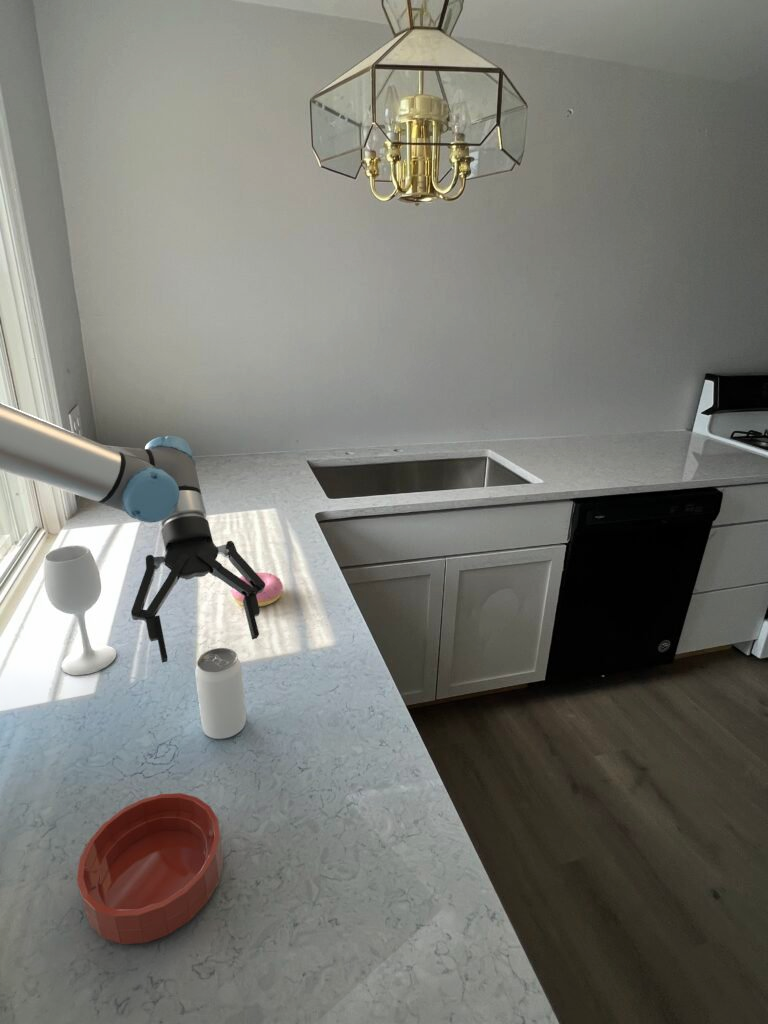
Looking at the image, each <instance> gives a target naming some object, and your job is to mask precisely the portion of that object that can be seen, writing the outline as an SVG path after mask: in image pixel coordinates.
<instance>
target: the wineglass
mask: <svg viewBox="0 0 768 1024" xmlns="http://www.w3.org/2000/svg"><path fill="white" fill-rule="evenodd" d="M43 583H44V589H45V592H46V596H47V598H48V601H49V602H50V604H51V605H52V607H54V608H55V609H56V610H58V611H60V612H61V613H64V614H68V615H73V616H74V617H75V618H76V620H77V623H78V627H79V631H80V632H79V633H80V637H81V644H82V647H81V648H79V649H76V650H75V651H73V652H71V653H70V654H68V655H67V656H66V657H65V658H64V660H63V661H62V662H61V670H62V671H63V672H64V673H66V674H68V675H72V676H83V675H89V674H93V673H96V672H99V671H101V670H103V669H105V668H106V667H108V666H109V665H111V664H112V663H113V662H114V660H115V659H116V656H117V651H116V649H115V648H114V647H112V646H110V645H106V644H92V645H91V642H90V639H89V636H88V631H87V626H86V618H85V617H86V612H87V611H88V610H90V609H91V608H92V607H94V605H96V603H97V602H98V600H99V598H100V596H101V593H102V581H101V575H100V571H99V568H98V565H97V563H96V560H95V558H94V556H93V553H92V551H91V550H90V548H89V547H87V546H84V545H68V546H67V545H66V546H61V547H57V548H56V549H53V550H51V551H49V552H47V553H46V555H45V556H44V557H43Z"/></svg>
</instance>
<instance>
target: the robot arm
mask: <svg viewBox="0 0 768 1024" xmlns="http://www.w3.org/2000/svg"><path fill="white" fill-rule="evenodd" d="M196 468H197V467H196V460H195V459H194V456H193V452H192V449H191V447H190V445H189V443H188V442H187V441H186V439H184V438H181V437H180V436H174V435H167V436H164V437H162V436H159V437H155V438H153V439H151V440H150V441H148V443H146V445H145V447H144V448H137V447H127V446H126V447H125V446H116V445H115V446H114V445H107V444H106V445H105V444H102V443H100V442H97V441H94V440H92V439H90V438H87V437H85V436H83V435H81V434H78V433H76V432H73V431H70V430H68V429H65V428H63V427H61V426H58V425H56V424H53V423H51V422H49V421H46V420H43V419H41V418H39V417H37V416H34V415H32V414H29V413H27V412H25V411H22V410H20V409H17V408H15V407H13V406H11V405H7V404H5V403H3V402H0V471H2V472H6V473H9V474H12V475H15V476H18V477H21V478H24V479H26V480H30V481H33V482H36V483H39V484H42V485H46V486H49V487H52V488H54V489H57V490H60V491H63V492H66V493H70V494H73V495H76V496H79V497H81V498H85V499H88V500H90V501H94V502H95V503H98V504H101V505H104V506H107V507H110V508H113V509H116V510H119V511H122V512H124V513H126V514H127V515H128V516H129V517H130V518H132V519H135V520H137V521H140V522H143V523H149V524H150V523H151V524H152V523H159V527H160V528H161V529H160V534H161V538H162V543H163V548H164V555H163V556H162V555H161V556H154V555H152V554H147V555H146V556H145V571H144V573H143V577H142V580H141V582H140V585H139V588H138V591H137V593H136V597H135V599H134V602H133V604H132V608H131V611H130V615H131V618H132V620H133V621H144V622H145V624H146V630H147V635H148V639H149V641H150V642H156V641H157V643H158V644H157V645H158V650H159V655H160V660H161V663H162V664H163V663H167V662H168V653H167V648H166V643H165V639H164V637H165V636H164V632H163V627H162V623H161V622H162V621H161V617H160V615H157V614H158V613H159V612H160V610H161V608H162V606H163V604H164V603H165V601H166V600H167V599H168V597H169V595H170V594H171V592H172V590H173V589H174V587H175V586H176V585H177V584H178V582H179V580H180V579H184V580H185V581H186V580H191V579H193V578H203V577H206V575H208V574H210V575H211V576H213V577H216V578H218V579H219V580H220V581H222V582H223V583H225V584H226V585H228V586H229V587H230V588H231V589H232V588H234V589H235V590H236V591H238V592H239V593H241V594H242V595H244V596H245V597H244V599H243V604H244V605H243V608H244V612H245V616H246V621H247V625H248V629H249V633H250V636H251V640H256V639H257V638H258V637H259V636H260V631H259V627H258V623H257V620H256V617H259V615H260V613H261V609H260V607H259V605H258V601H257V597H256V595H257V594H259V593H261V592H262V591H263V590H264V587H265V583H264V582H263V580H262V579H261V578H260V577H259V576H258V575H257V574H256V573H257V572H256V571H255V570H254V569H253V568H252V567H251V566H250V565H249V564H248V562H247V561H246V560H245V559H244V558H243V557H242V555H241V554H240V553H239V552H238V550H237V548H236V545H235V543H234V542H233V541H232V540H228V541H227V542H226V544H222V545H218V546H217V545H216V544H215V543H214V541H213V536H212V532H211V528H210V524H209V523H210V522H209V520H208V519H207V517H208V515H207V514H208V513H207V510H206V507H205V503H204V498H203V494H202V490H201V486H200V481H199V477H198V471H197V469H196ZM218 555H221V556H223V558H225V559H228V560H229V562H230V563H231V564H232V566H233V567H234V568H235V569H236V570H237V571H238V572H239V574H241V577H242V576H243V577H244V578H245V579H246V580H247V581H248V582H249V584H250V585H251V586H250V585H249V584H247V583H246V582H245V581H243V580H242V579H240V578H241V577H239V576H237V575H236V574H235V573H233V572H232V571H230V570H229V569H227V567H224V566H223V564H222V563H221V562H220V561H218V560H217V559H218ZM163 565H164V566H165V567H166V568H168V569H169V570H170V571H169V573H168V575H167V577H166V579H165V581H163V583H162V585H161V586H160V588H159V590H158V591H157V593H156V595H155V596H154V598H153V599H152V601H151V602H150V604H149V605H148V607H147V608H146V609H144V608H145V605H146V602H147V599H148V596H149V593H150V590H151V587H152V585H153V581H154V578H155V574H156V572H158V571H159V570H160V569H161V567H162V566H163Z"/></svg>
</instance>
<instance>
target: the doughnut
mask: <svg viewBox="0 0 768 1024" xmlns="http://www.w3.org/2000/svg"><path fill="white" fill-rule="evenodd" d="M255 573H256V574H257V575H258V576H259V577H260V578H261V579H262V580H263V582H264V583H265V587H264V590H263V591H262V592H261V593H259V594H257V595H256V597H257V601H258V605H259V606H260V607H265V606H268V605H272V604H273V603H274V602H276V601H278V599H280V597H281V596H282V594H283V590H284V585H283V582H282V581H281V578H279V577H278V576H277V575H275V574H272V573H268V572H255ZM239 578H240V579H242V580H243V581H245V582H246V583H247V584H249V582H248V581H247V580H246V579H245V578H244V577H243V576H242V575H241V576H240V577H239ZM249 585H250V584H249ZM250 586H251V585H250ZM230 592H231V595H232V599H233V600H234V601H235V602H236V603H237V604H239V605H241V606H244V604H243V599H244V597H245V596H244V595H242V594H241V593H239V592H238V591H236V590H235V589H234V588H232V587H231V590H230Z"/></svg>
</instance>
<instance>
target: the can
mask: <svg viewBox="0 0 768 1024" xmlns="http://www.w3.org/2000/svg"><path fill="white" fill-rule="evenodd" d="M194 674H195V675H194V676H195V685H196V691H197V699H198V706H199V714H200V722H201V723H200V724H201V728H202V732H203V734H205V736H207V737H208V738H211V739H214V740H227V739H229V738H232V737H235V736H236V735H237V734H239V733H240V732H241V731H242V730H243V728H244V727H246V726H245V725H246V722H247V715H246V713H247V712H246V711H247V710H246V702H245V691H244V679H243V670H242V663H241V661H240V659H239V658H238V654H237V653H236V651H235V650H233V649H231V648H227V647H218V648H217V647H216V648H211V649H209V650H207V651H205V652H203V653H202V654H201V655H199V656H198V658H197V660H196V667H195V671H194Z"/></svg>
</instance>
